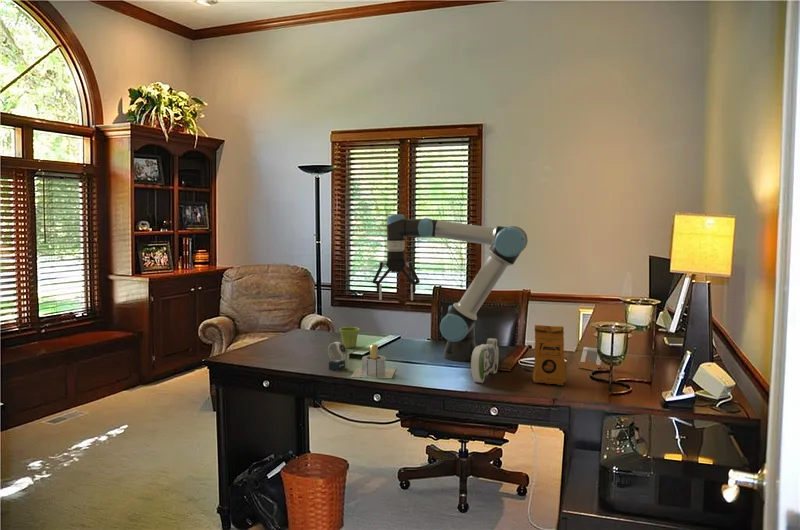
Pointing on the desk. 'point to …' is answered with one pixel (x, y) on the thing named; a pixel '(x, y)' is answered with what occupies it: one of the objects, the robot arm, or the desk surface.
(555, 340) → the coffee package
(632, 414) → the desk surface
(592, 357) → the portable electronic device stand
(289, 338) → the desk surface
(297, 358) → the desk surface
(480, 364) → the cutout
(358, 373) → the square peg stand
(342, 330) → the plant pot
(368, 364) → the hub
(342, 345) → the watch
